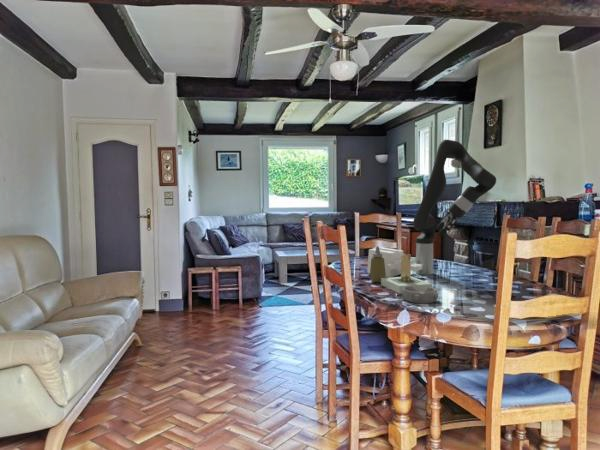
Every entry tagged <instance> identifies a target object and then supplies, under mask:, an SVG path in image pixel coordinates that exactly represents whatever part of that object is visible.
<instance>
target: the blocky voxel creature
mask: <svg viewBox="0 0 600 450" xmlns="http://www.w3.org/2000/svg"><path fill="white" fill-rule="evenodd" d="M376 247H377V246H374V247H373V248H369V249H368V258H367V273H368V274H370V267H371V258H373V253H375V251H376ZM379 250H380V253H382V258H384V263H385V273H386V275H385V278H390V277H397V276H399V275H401V254H405V253H404V251H405V250H402V249H395V248H391V247H385V246H384V247H382V246H379ZM413 262H414V260H413V259H411V271H413V272H416V271H418V270H421V269H422V268H423V265H420V264H416V262H415V263H413Z"/></svg>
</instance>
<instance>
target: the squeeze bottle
mask: <svg viewBox="0 0 600 450" xmlns="http://www.w3.org/2000/svg"><path fill="white" fill-rule="evenodd" d="M375 247H376V251H375V253H373V258H371V267H370V273H369V276H370V279H371V282H373V283H381V278H386V277H385V275H386V273H385V263H384V258H382V253H380V250H379V247H380V246H378V245H376V246H375Z"/></svg>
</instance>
